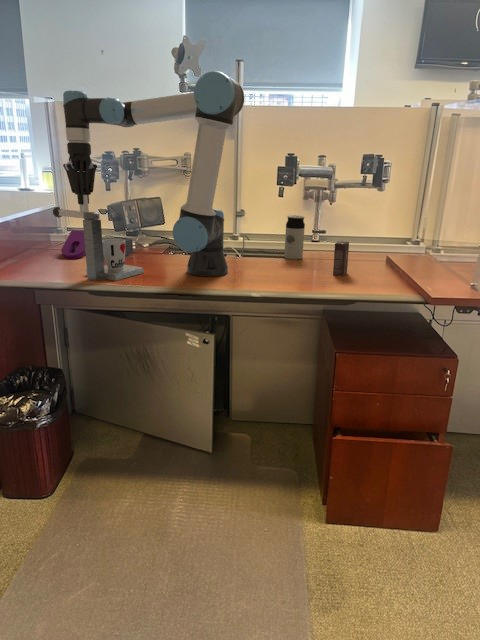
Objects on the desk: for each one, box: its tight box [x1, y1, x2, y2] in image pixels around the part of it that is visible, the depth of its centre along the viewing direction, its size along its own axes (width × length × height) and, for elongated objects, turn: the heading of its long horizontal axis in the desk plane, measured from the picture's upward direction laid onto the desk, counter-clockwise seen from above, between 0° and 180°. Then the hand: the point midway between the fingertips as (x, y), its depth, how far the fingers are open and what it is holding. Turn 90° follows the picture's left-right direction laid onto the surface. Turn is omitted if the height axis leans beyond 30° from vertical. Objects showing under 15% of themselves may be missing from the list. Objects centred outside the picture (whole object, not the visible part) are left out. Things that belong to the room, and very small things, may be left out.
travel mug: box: [283, 214, 306, 261], centre depth 199 cm, size 8×8×18 cm
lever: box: [52, 206, 101, 220], centre depth 155 cm, size 20×5×4 cm, turn 60°
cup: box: [102, 238, 126, 270], centre depth 163 cm, size 8×8×10 cm
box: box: [332, 240, 350, 277], centre depth 173 cm, size 6×4×12 cm
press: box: [82, 219, 144, 282], centre depth 161 cm, size 14×18×20 cm
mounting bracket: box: [60, 229, 86, 260], centre depth 196 cm, size 9×8×18 cm
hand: (84, 213), depth 162 cm, fingers closed
